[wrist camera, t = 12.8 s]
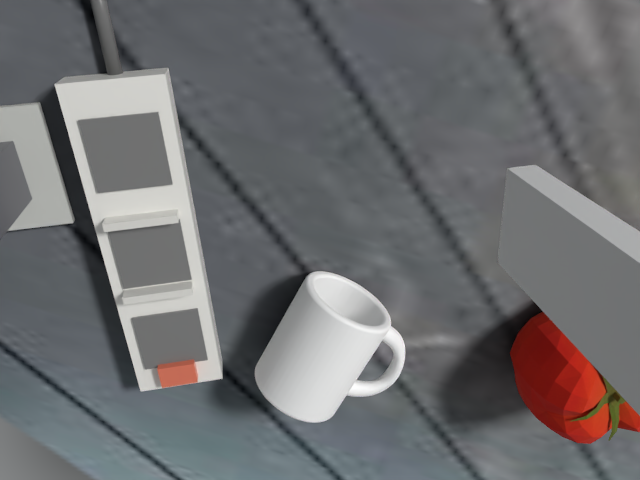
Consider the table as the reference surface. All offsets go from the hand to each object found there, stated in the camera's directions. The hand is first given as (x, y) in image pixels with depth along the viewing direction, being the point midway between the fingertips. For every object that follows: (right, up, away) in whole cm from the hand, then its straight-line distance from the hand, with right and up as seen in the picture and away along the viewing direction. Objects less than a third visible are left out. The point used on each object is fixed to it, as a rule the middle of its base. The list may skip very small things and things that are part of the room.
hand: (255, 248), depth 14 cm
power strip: (-12, +4, +28) cm, 31 cm away
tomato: (+26, -9, +42) cm, 50 cm away
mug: (+3, -8, +37) cm, 38 cm away
